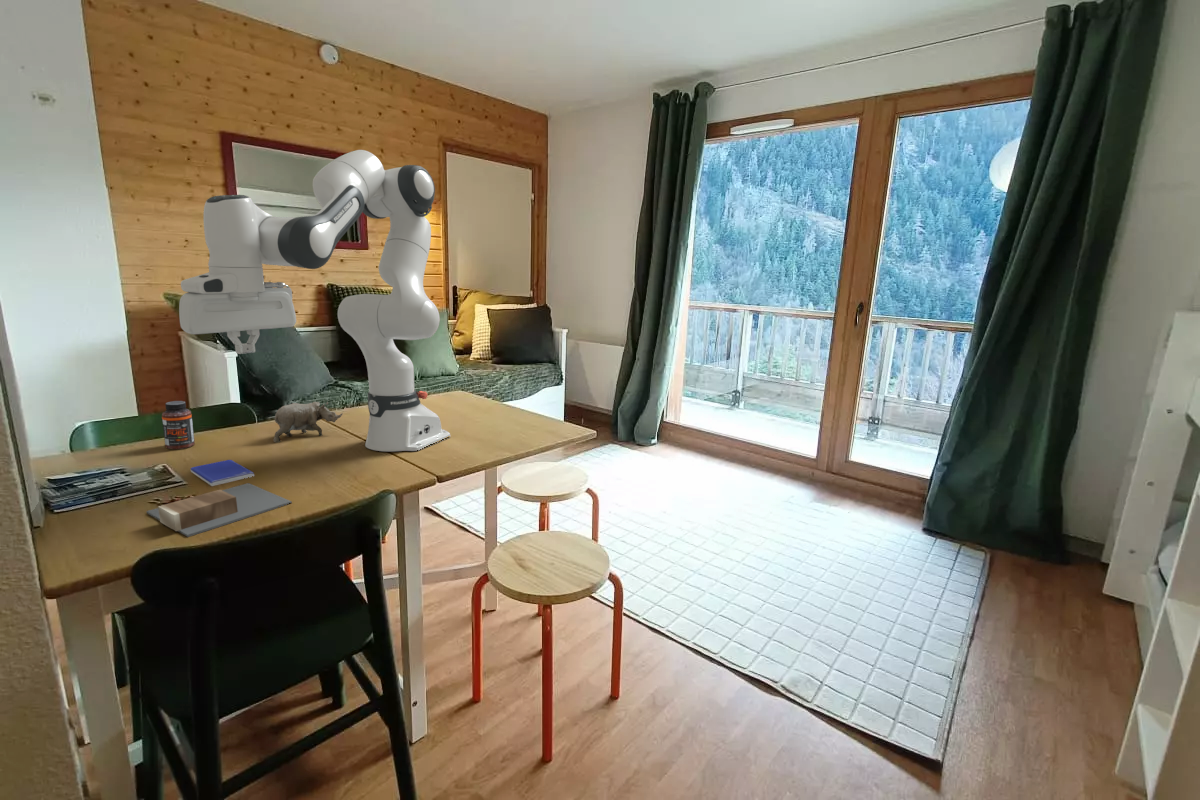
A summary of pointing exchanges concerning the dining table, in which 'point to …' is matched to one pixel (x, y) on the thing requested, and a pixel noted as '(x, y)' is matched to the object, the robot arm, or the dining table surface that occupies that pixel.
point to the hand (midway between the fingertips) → (245, 353)
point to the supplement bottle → (177, 426)
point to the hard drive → (221, 472)
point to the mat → (248, 505)
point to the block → (197, 509)
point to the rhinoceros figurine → (302, 418)
